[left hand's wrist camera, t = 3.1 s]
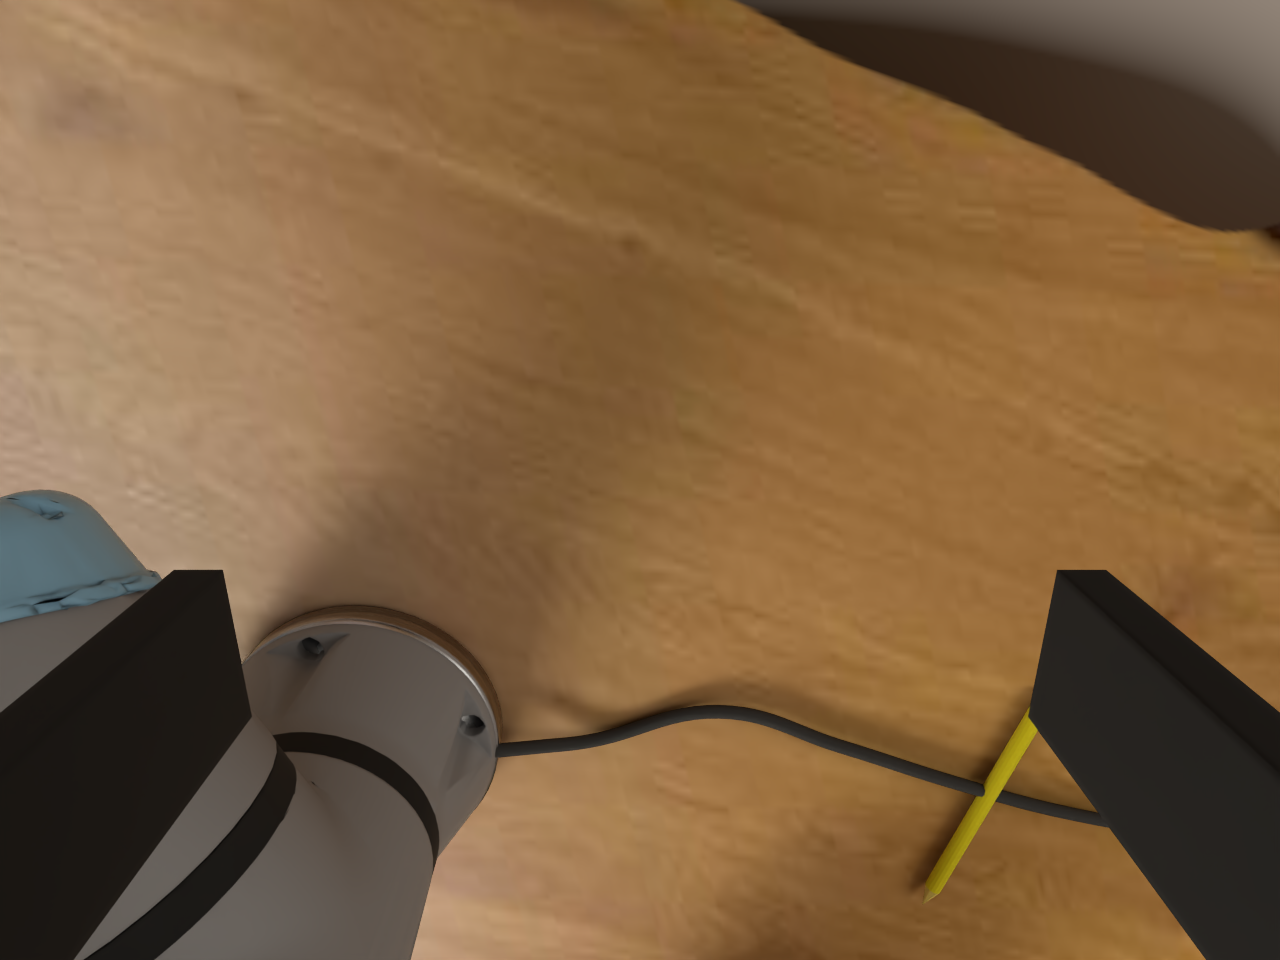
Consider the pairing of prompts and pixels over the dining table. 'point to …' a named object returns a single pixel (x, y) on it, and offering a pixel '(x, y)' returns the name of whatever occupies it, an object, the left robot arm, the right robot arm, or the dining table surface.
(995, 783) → the pencil
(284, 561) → the dining table surface
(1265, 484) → the dining table surface
